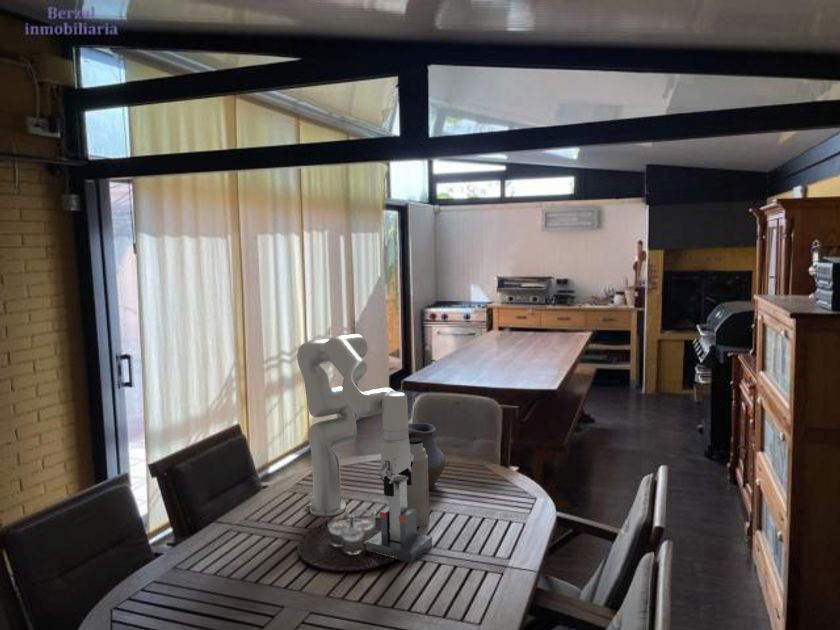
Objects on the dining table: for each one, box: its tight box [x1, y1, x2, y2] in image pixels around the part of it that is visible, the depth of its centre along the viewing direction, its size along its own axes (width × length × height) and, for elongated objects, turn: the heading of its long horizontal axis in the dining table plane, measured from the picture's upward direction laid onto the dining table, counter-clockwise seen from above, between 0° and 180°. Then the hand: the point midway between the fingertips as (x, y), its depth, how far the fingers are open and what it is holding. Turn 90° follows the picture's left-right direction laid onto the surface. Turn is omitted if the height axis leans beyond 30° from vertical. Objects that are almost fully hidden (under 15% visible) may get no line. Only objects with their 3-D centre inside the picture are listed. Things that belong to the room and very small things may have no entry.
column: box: [387, 475, 408, 542], centre depth 189 cm, size 5×5×19 cm
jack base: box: [365, 505, 433, 564], centre depth 189 cm, size 16×12×12 cm
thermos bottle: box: [407, 438, 431, 528], centre depth 207 cm, size 8×8×28 cm
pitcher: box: [397, 422, 447, 490], centre depth 237 cm, size 21×22×25 cm
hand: (398, 490), depth 188 cm, fingers open, 9 cm apart
